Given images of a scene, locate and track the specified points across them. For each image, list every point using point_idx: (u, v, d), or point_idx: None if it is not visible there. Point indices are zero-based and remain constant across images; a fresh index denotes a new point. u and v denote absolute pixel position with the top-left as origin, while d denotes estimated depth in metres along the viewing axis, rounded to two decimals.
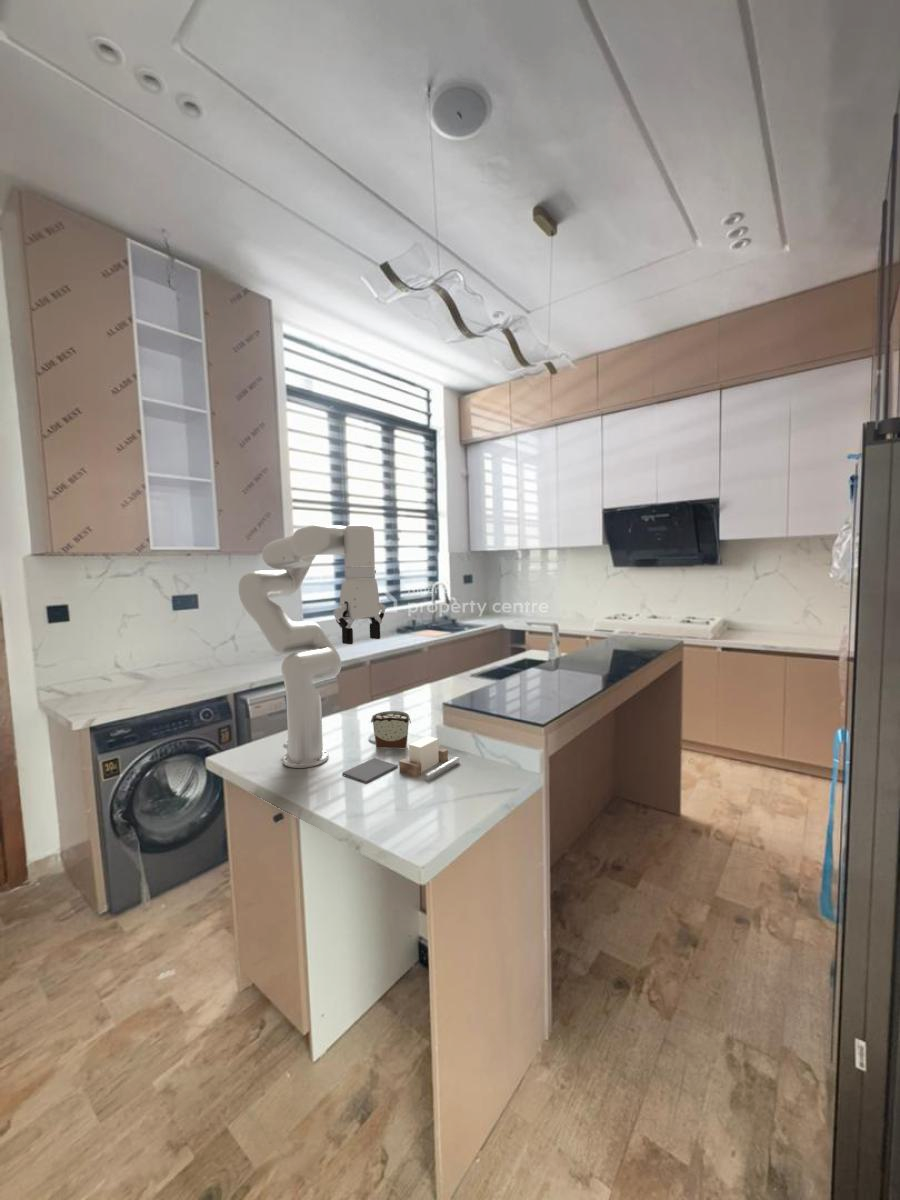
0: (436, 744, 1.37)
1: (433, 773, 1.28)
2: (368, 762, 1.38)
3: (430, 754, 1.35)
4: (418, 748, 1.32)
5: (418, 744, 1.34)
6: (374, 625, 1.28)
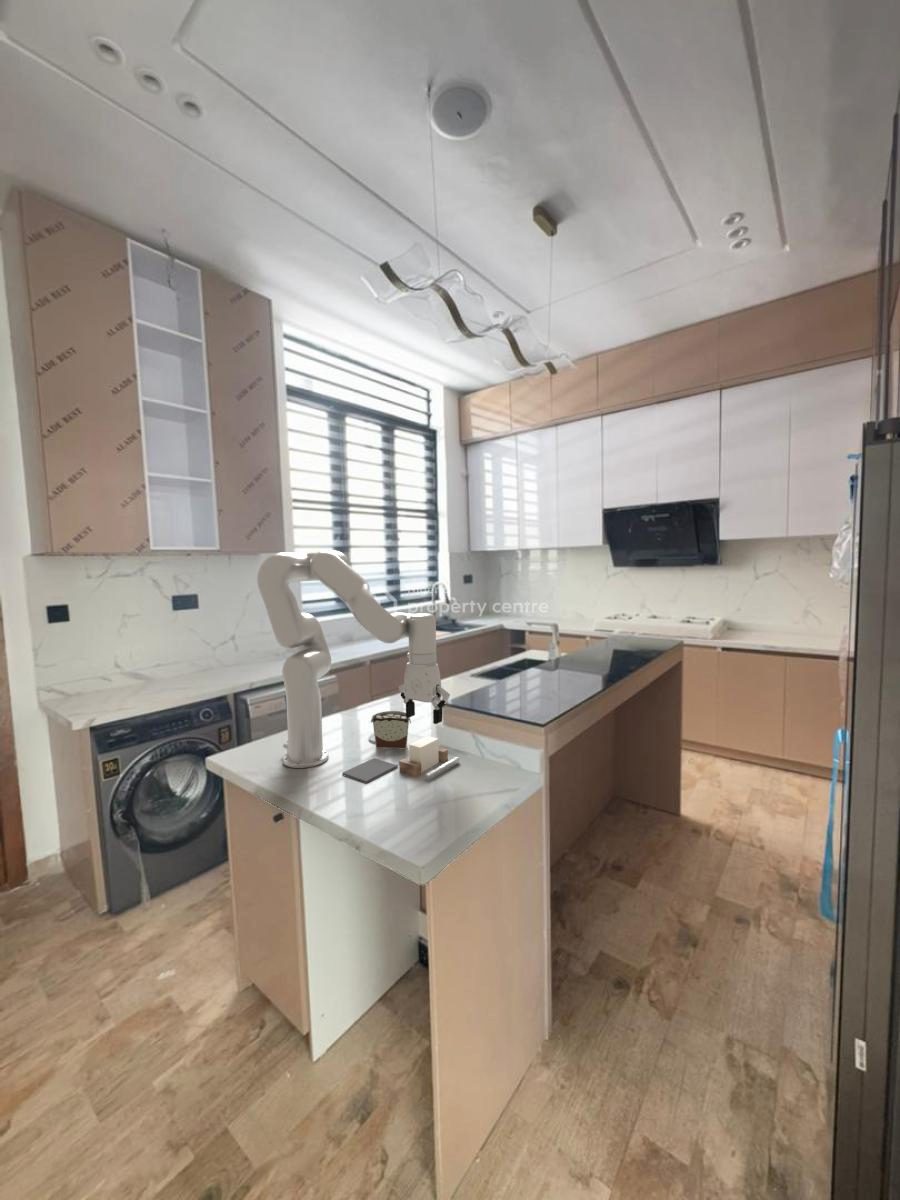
0: (436, 744, 1.37)
1: (433, 773, 1.28)
2: (368, 762, 1.38)
3: (430, 754, 1.35)
4: (418, 748, 1.32)
5: (418, 744, 1.34)
6: (411, 704, 1.38)
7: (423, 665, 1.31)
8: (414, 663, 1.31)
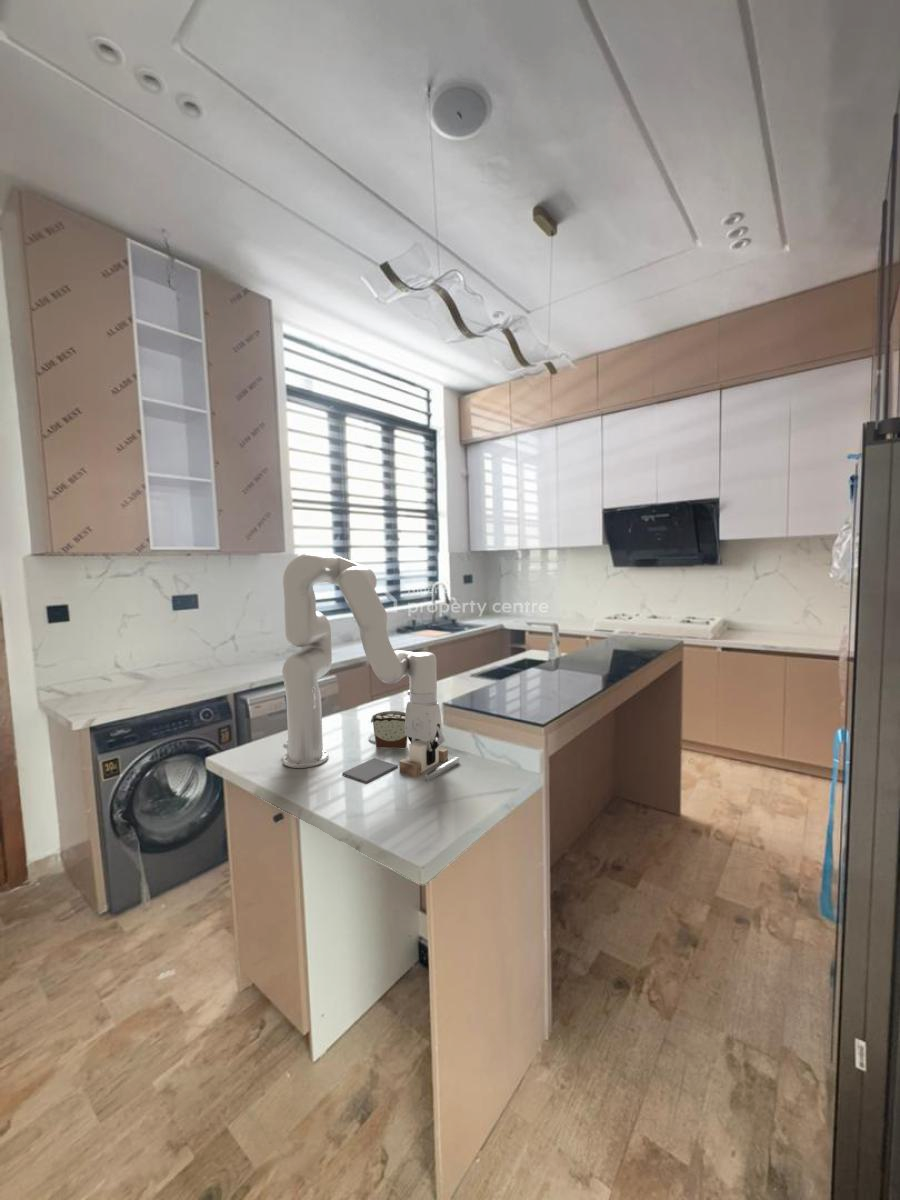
0: None
1: (433, 773, 1.28)
2: (368, 762, 1.38)
3: None
4: (418, 748, 1.32)
5: (418, 743, 1.34)
6: None
7: (424, 705, 1.31)
8: (415, 702, 1.32)
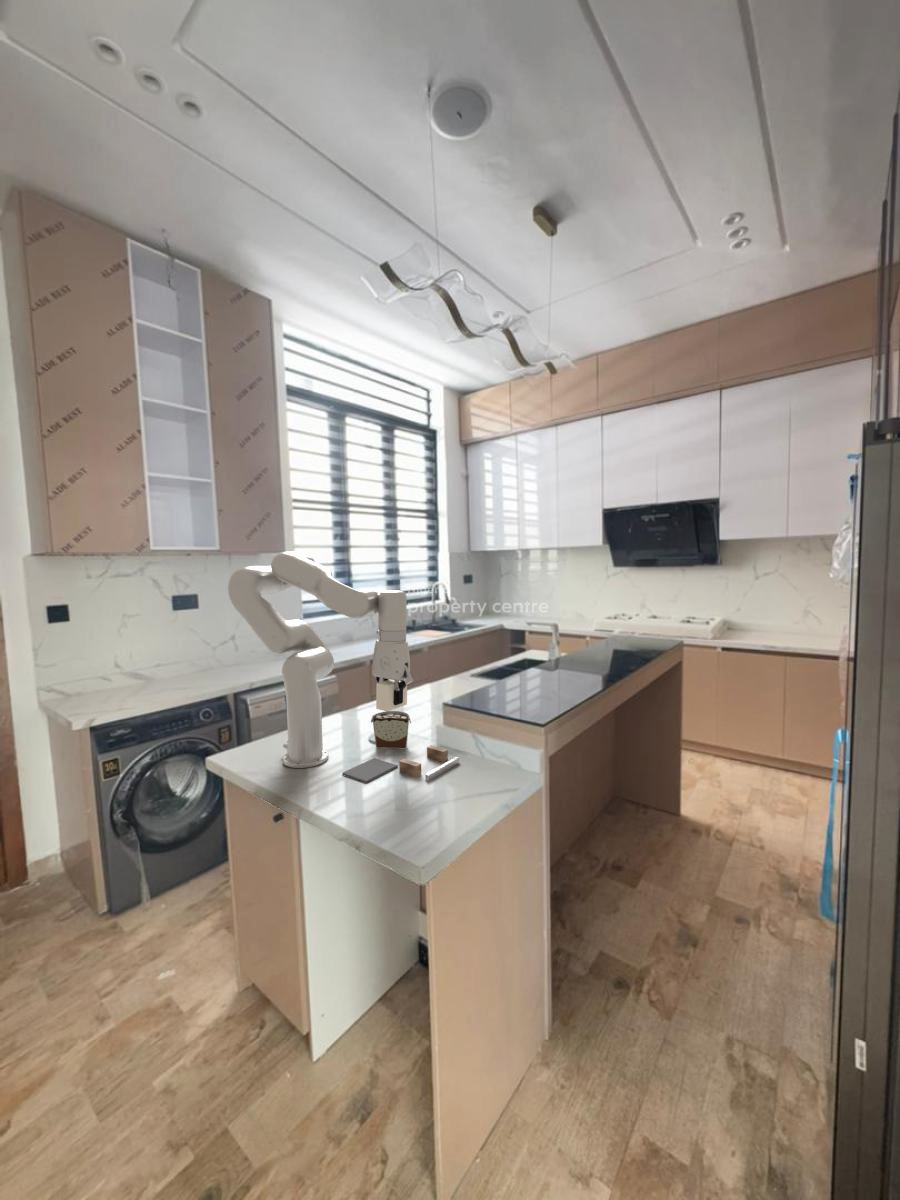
0: None
1: (433, 773, 1.28)
2: (368, 762, 1.38)
3: None
4: (385, 686, 1.29)
5: (386, 683, 1.31)
6: None
7: (392, 642, 1.29)
8: (383, 640, 1.29)
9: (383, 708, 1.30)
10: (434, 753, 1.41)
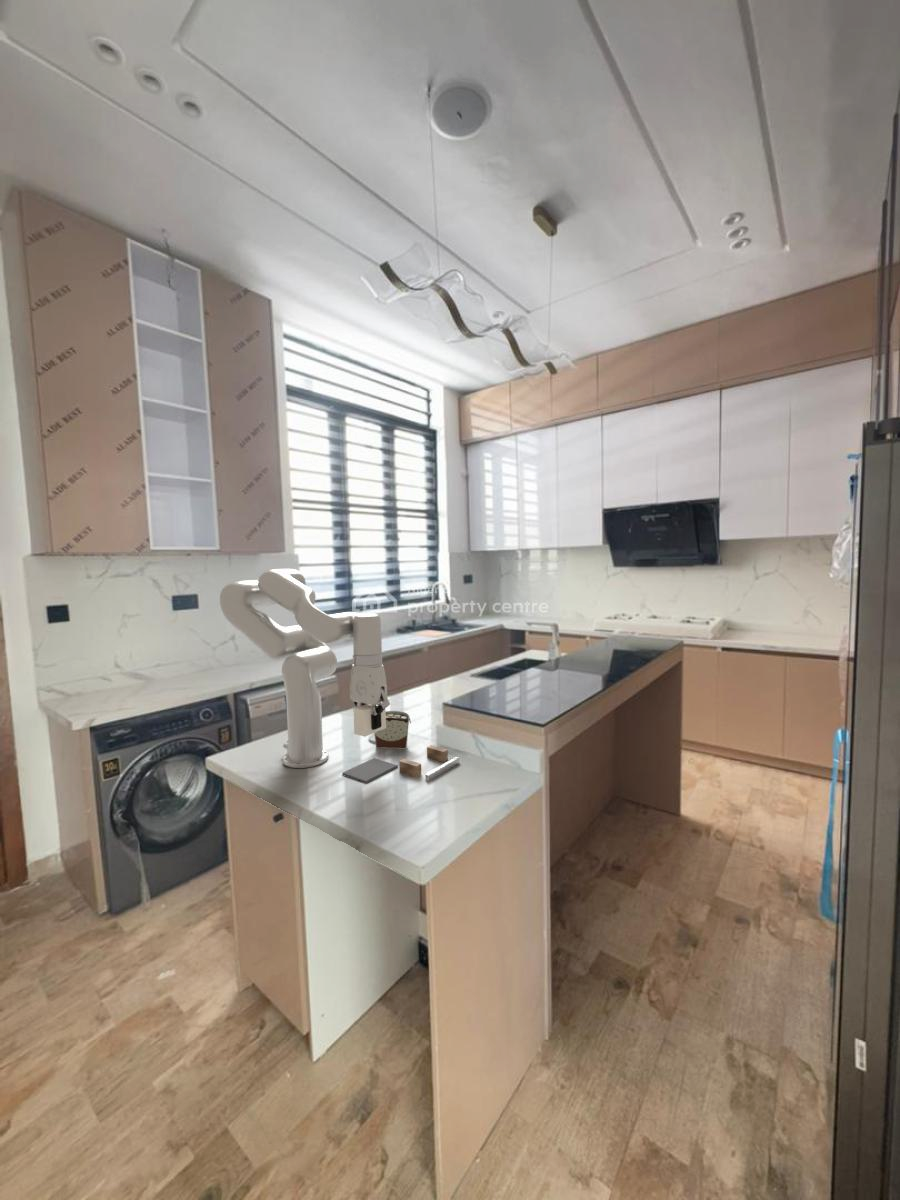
0: None
1: (433, 773, 1.28)
2: (368, 762, 1.38)
3: None
4: (362, 711, 1.28)
5: (363, 707, 1.30)
6: None
7: (367, 666, 1.27)
8: (358, 664, 1.28)
9: (361, 733, 1.29)
10: (434, 753, 1.41)
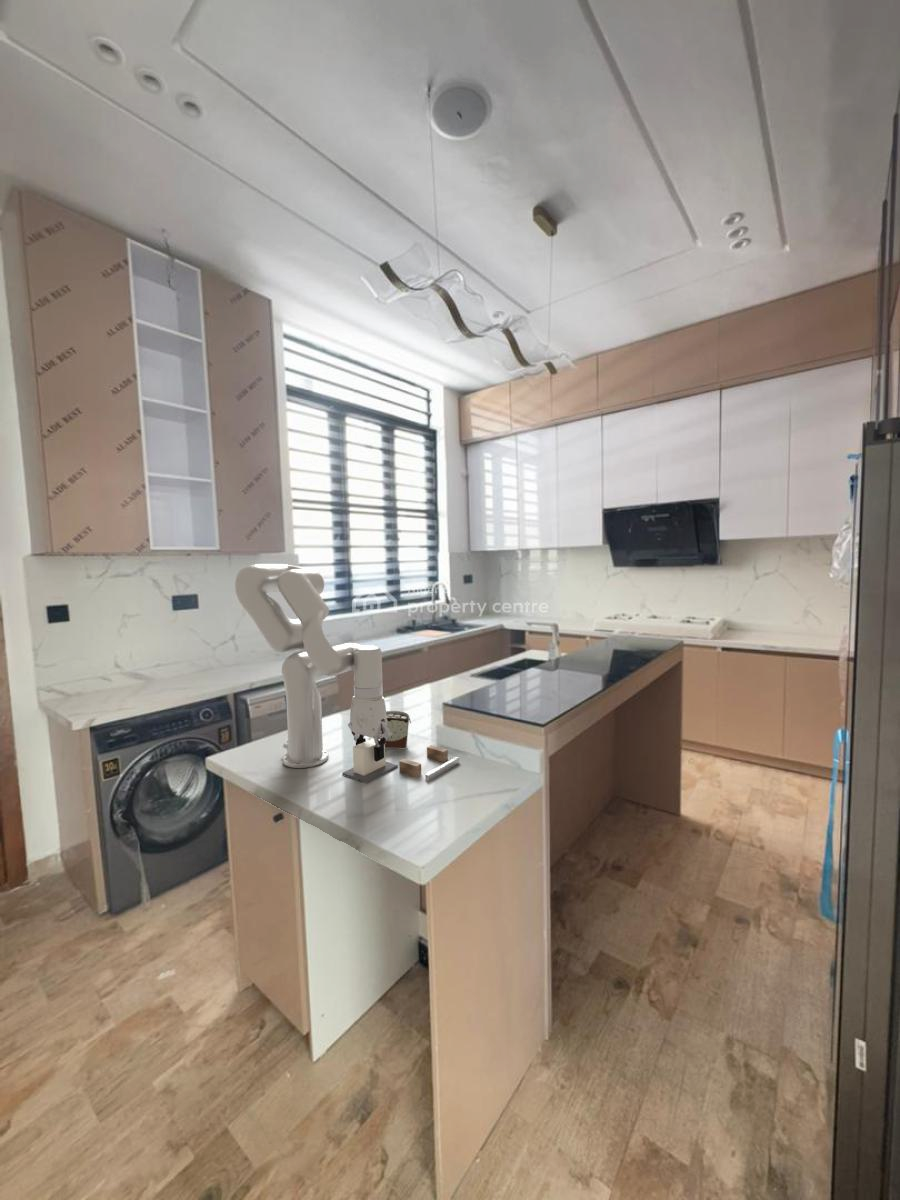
0: None
1: (433, 773, 1.28)
2: None
3: None
4: (361, 750, 1.29)
5: (362, 746, 1.31)
6: (362, 741, 1.35)
7: (367, 699, 1.28)
8: (358, 697, 1.29)
9: (360, 772, 1.30)
10: (434, 753, 1.41)
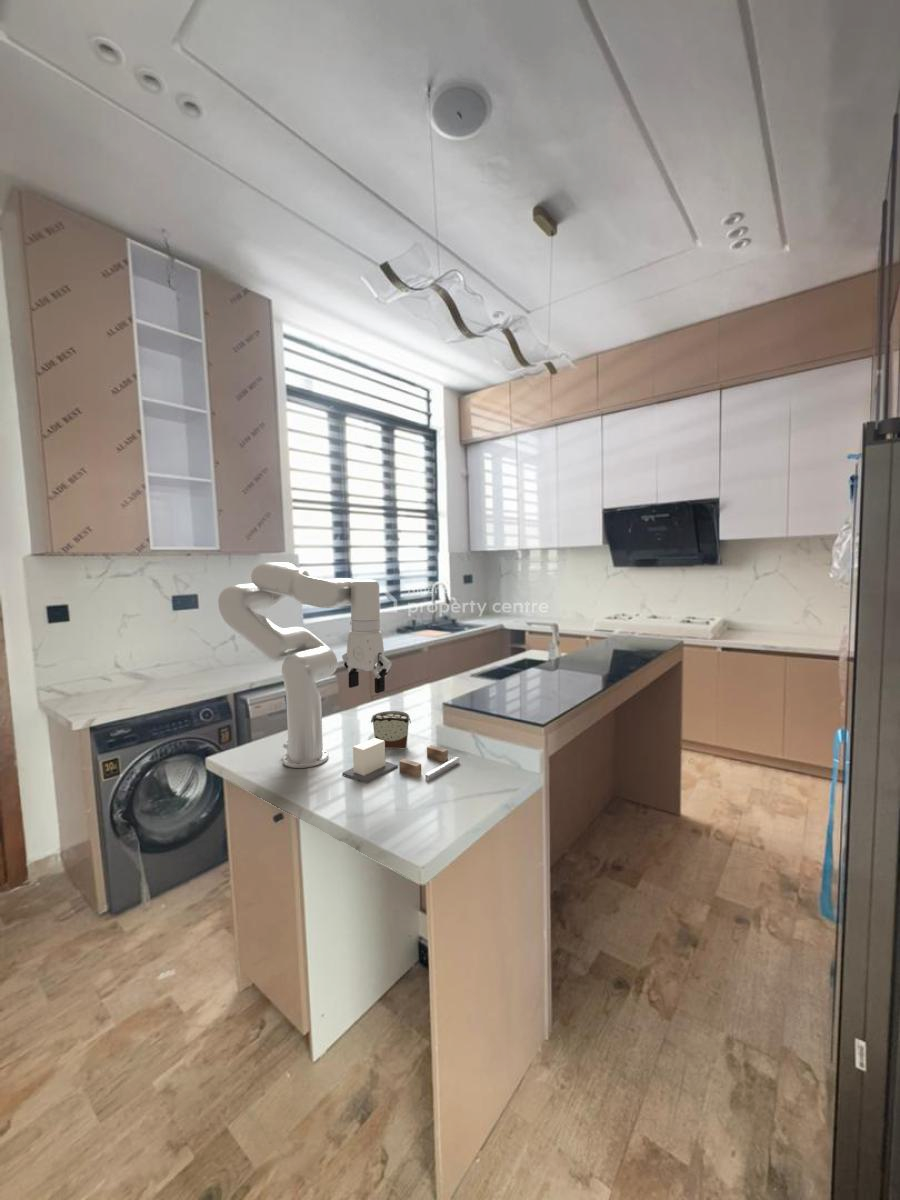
0: (382, 746, 1.34)
1: (433, 773, 1.28)
2: None
3: (375, 756, 1.32)
4: (361, 750, 1.29)
5: (362, 746, 1.31)
6: (355, 673, 1.34)
7: (364, 632, 1.27)
8: (355, 630, 1.27)
9: (360, 772, 1.30)
10: (434, 753, 1.41)
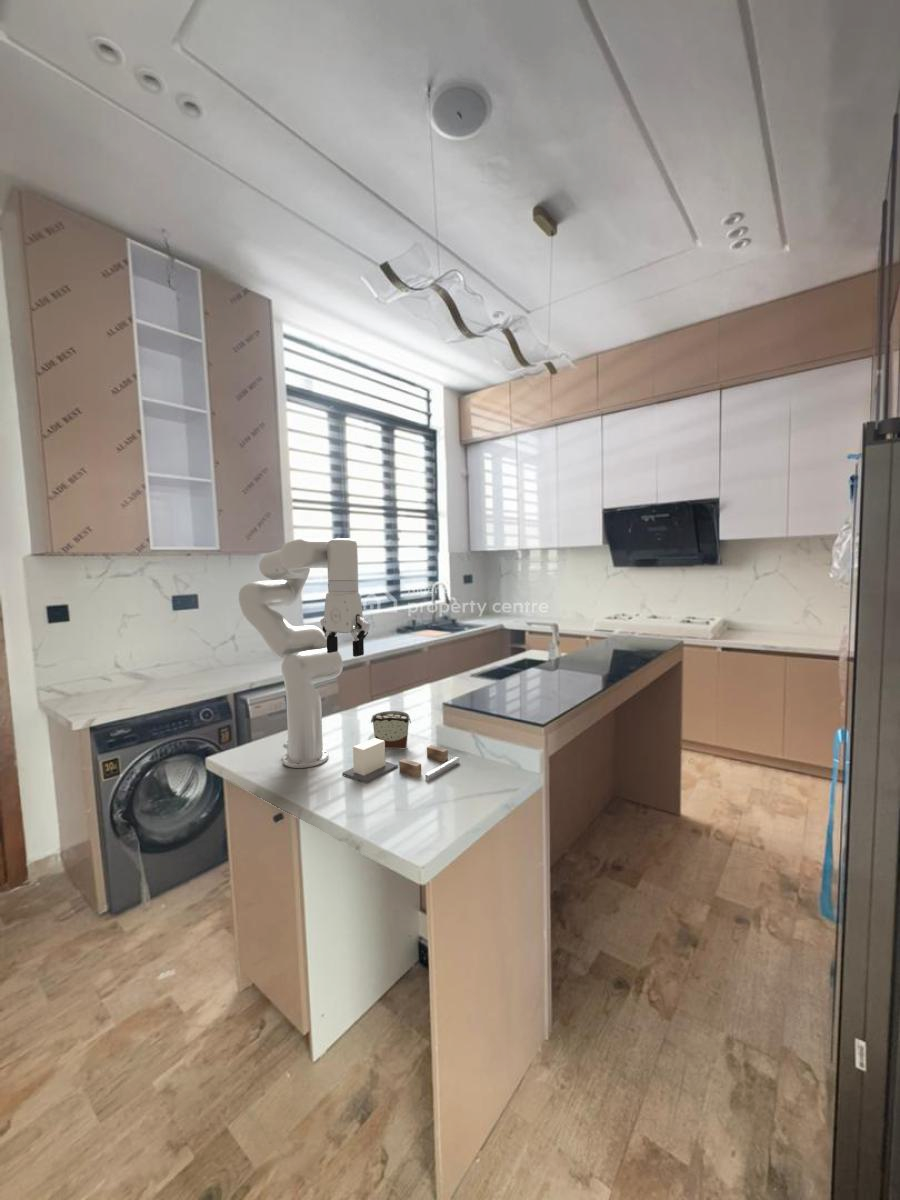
0: (382, 746, 1.34)
1: (433, 773, 1.28)
2: None
3: (375, 756, 1.32)
4: (361, 750, 1.29)
5: (362, 746, 1.31)
6: (333, 638, 1.28)
7: (341, 592, 1.21)
8: (332, 591, 1.22)
9: (360, 772, 1.30)
10: (434, 753, 1.41)
